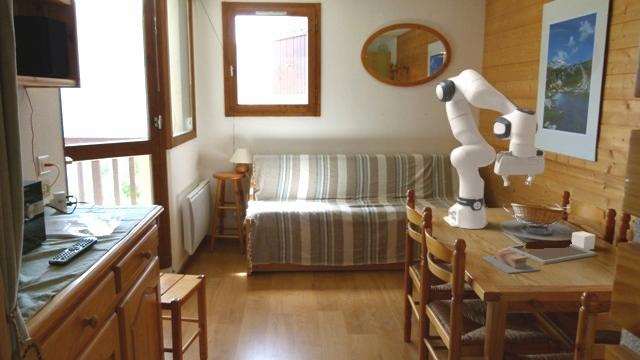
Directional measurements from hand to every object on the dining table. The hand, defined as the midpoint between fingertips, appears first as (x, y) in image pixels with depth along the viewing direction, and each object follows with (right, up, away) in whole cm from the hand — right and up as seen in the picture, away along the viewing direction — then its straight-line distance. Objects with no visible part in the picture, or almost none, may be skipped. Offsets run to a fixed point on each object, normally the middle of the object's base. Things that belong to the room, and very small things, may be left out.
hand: (517, 185), depth 191 cm
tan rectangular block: (-7, -29, -10) cm, 31 cm away
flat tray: (+14, -28, +3) cm, 31 cm away
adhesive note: (+31, -26, +9) cm, 41 cm away
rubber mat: (-7, -29, -10) cm, 32 cm away
